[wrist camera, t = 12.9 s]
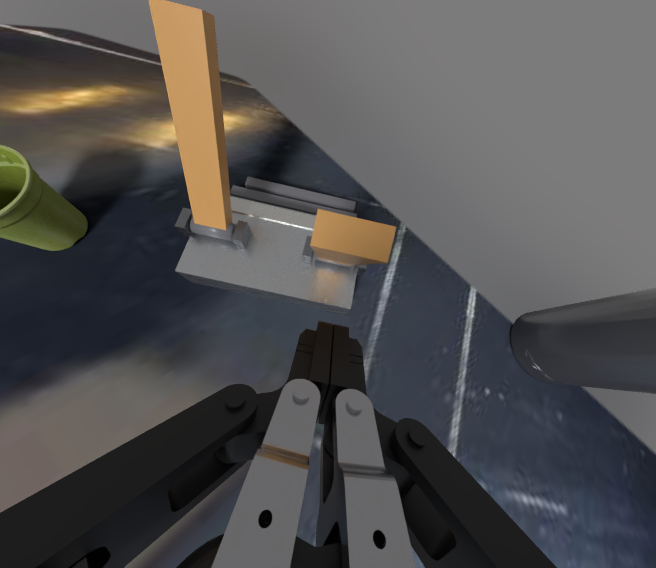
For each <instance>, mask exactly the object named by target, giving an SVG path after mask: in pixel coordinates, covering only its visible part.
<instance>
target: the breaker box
mask: <svg viewBox="0 0 656 568" xmlns="http://www.w3.org/2000/svg"><path fill="white" fill-rule="evenodd" d="M230 200H231V211H232V222H233V224H236V225H237V226H236V229H235V231H234V234H233V237H232V240H233V242H232V241H228V240H223V239H219V238H215V237H210V236H206V235H201V234H197V233H193V232H192V231H191V228H190V222H191V219H192V217H193V214H192V210H191V209H187V208H183V209H182V212H181V214H180V216H179V218H178V220H177V222H176V224H175V227H176V228H177V229H178V230H179V231H180V232H181V233H182V234H183V235H184V236H186V237H190V238H189V240H188V243H187V245H186V247H185V249H184V252H183V254H182V256H181V259H180V261H179V263H178V265H177V268H176V270H175V271H176V272H177V273H179V274H180V275H182V276H183V277H185V278H186V279H188V280H189V281H191V282H193V283H198V284H203V285H207V286H212V287H216V288H221V289H226V290H230V291H235V292H240V293H244V294H249V295H253V296H258V297H263V298H267V299H272V300H276V301H281V302H286V303H290V304H295V305H300V306H304V307H309V308H313V309H318V310H323V311H327V312H332V313H336V314H341V315H346V314H347V313H348V312H349V311H350V310H351V304H352V299H353V293H354V287H355V281H356V275H361V276H362V274H363V273H364V271H365V270H366V267H367V264H365V265H353V268H349V267H344V266H340V265H335V264H331V263H326V262H322V261H317V260H315V255H316V254H315V252H314V251H313V249H312V248H311V246H310V243H311V239H312V234H313V229H314V225H315V220H316V215H312V214H307V213H303V212H299V211H294V210H290V209H286V208H281V207H277V206H273V205H268V204H264V203H260V202H255V201H251V200H246V199H242V198H238V197H233V196H230Z"/></svg>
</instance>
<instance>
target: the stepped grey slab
mask: <svg viewBox="0 0 656 568" xmlns="http://www.w3.org/2000/svg"><path fill="white" fill-rule="evenodd" d="M245 186H246V188H242V187H238V186H234V185H233V187H232V189H231V192H230V195H231V196H233V197H238V198H242V199H246V200H251V201H255V202H260V203H264V204H268V205H273V206H277V207H281V208H286V209H290V210H294V211H299V212H303V213H307V214H312V215H317V211H318V209H321V210H325V211H330V212H334V213H338V214H343V215H347V216H351V217H357V214H355V213H353V212H354V209H355V204H356V202H355V201H350V200H346V199H342V198H338V197H333V196H329V195H325V194H320V193H316V192H312V191H307V190H303V189H299V188H295V187H290V186H286V185H282V184H277V183H273V182H269V181H264V180H260V179H256V178H252V177H248V178H247V180H246V183H245Z"/></svg>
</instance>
